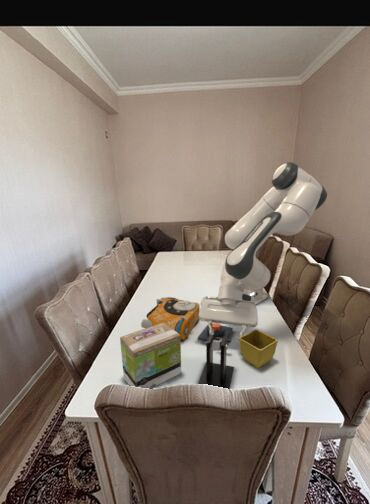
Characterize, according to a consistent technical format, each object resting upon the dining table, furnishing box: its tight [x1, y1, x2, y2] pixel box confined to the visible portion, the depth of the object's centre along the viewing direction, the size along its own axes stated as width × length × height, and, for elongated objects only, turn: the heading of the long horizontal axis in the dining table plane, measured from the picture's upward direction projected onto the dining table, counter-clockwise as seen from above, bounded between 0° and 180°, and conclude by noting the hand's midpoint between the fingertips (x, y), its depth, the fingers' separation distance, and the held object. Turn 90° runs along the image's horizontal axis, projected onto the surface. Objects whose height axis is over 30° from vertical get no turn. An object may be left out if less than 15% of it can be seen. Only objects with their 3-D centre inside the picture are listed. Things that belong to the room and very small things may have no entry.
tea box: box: [119, 322, 182, 389], centre depth 74 cm, size 15×10×15 cm, turn 126°
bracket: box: [197, 335, 235, 390], centre depth 73 cm, size 12×9×14 cm
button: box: [211, 322, 222, 331], centre depth 96 cm, size 4×4×2 cm
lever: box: [212, 337, 232, 352], centre depth 77 cm, size 15×5×2 cm, turn 162°
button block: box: [197, 324, 234, 343], centre depth 96 cm, size 12×10×4 cm
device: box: [140, 296, 201, 341], centre depth 108 cm, size 23×8×30 cm
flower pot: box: [238, 328, 279, 369], centre depth 80 cm, size 9×9×9 cm
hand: (225, 336), depth 84 cm, fingers open, 8 cm apart
